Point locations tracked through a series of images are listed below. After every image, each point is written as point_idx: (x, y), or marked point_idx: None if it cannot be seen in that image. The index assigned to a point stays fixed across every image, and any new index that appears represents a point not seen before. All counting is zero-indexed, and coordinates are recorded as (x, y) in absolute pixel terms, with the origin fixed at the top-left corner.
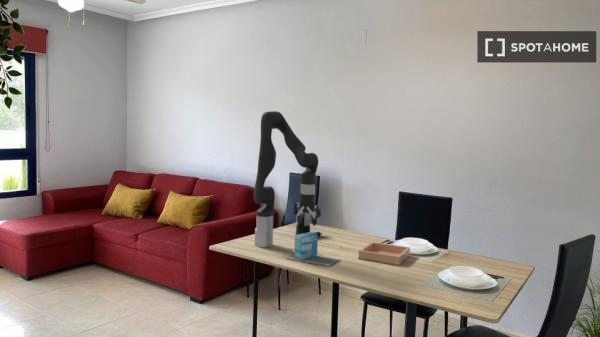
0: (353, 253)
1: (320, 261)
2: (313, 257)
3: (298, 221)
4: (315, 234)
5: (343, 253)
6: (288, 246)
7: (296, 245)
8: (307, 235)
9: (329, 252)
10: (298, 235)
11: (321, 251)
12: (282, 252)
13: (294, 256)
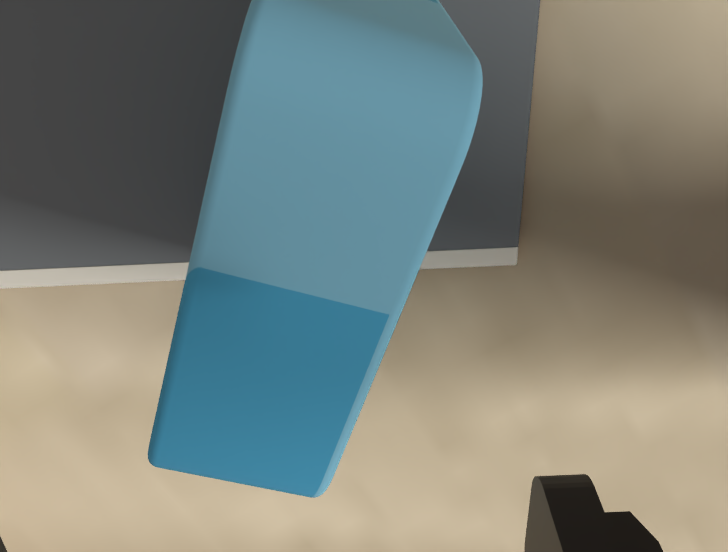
0: (4, 531)
1: (23, 67)
2: None
3: (578, 524)
4: (154, 431)
5: (78, 489)
6: (725, 405)
7: (397, 1)
8: (197, 242)
9: None
10: (390, 114)
11: None
12: (716, 176)
13: None
